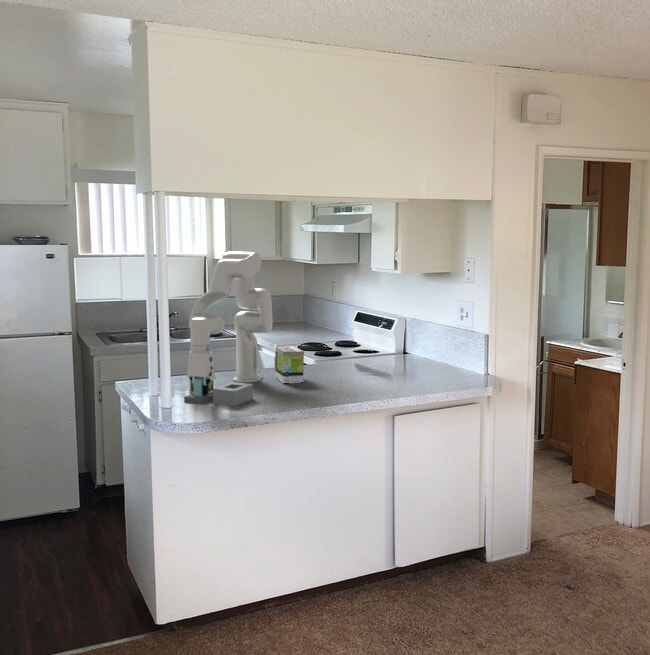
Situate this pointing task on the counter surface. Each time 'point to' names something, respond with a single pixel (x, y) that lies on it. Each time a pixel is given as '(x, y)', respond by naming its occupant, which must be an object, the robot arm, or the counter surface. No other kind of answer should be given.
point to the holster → (199, 399)
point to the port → (232, 393)
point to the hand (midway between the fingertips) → (200, 393)
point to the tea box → (289, 364)
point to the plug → (198, 387)
